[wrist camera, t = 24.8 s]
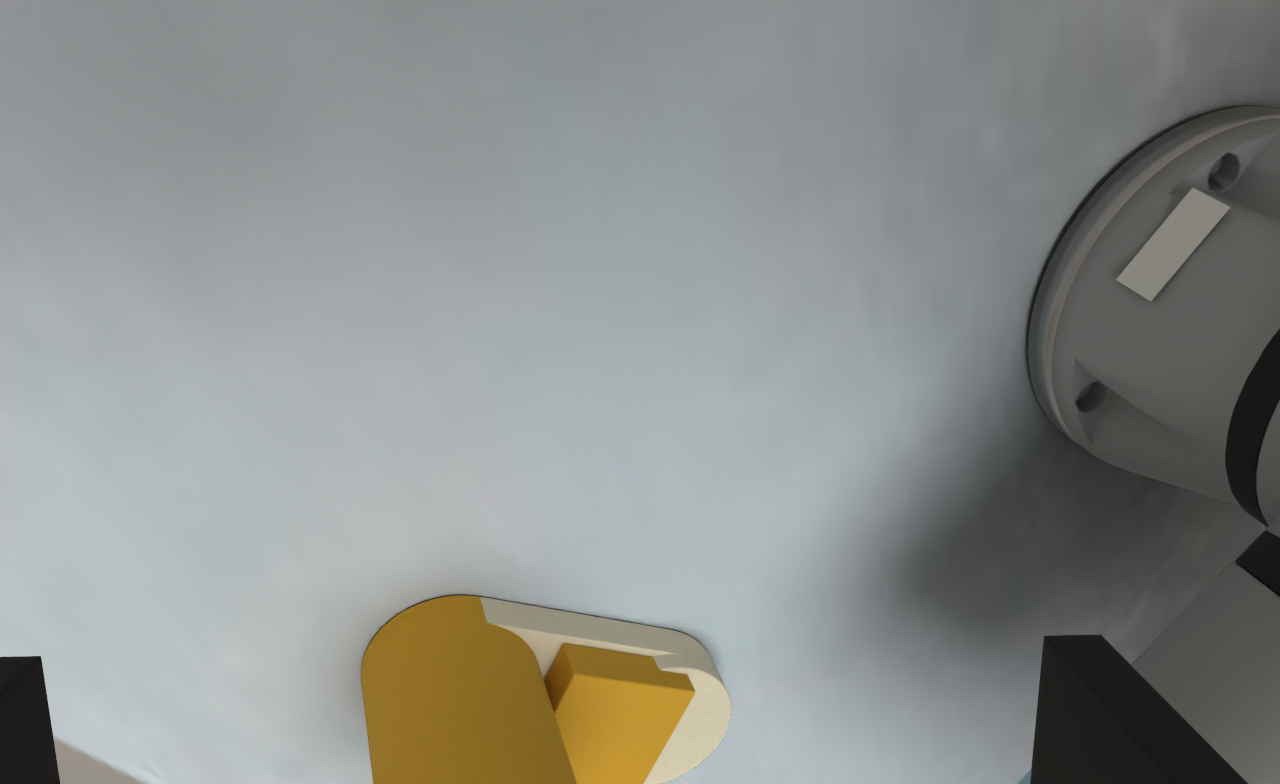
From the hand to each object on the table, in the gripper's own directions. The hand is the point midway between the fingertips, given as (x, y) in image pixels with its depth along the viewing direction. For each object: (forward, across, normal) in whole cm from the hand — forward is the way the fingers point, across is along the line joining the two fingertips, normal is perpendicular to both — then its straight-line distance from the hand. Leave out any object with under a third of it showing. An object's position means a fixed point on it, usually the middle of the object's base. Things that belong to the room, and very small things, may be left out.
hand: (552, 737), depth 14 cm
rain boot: (+27, -1, -14) cm, 31 cm away
